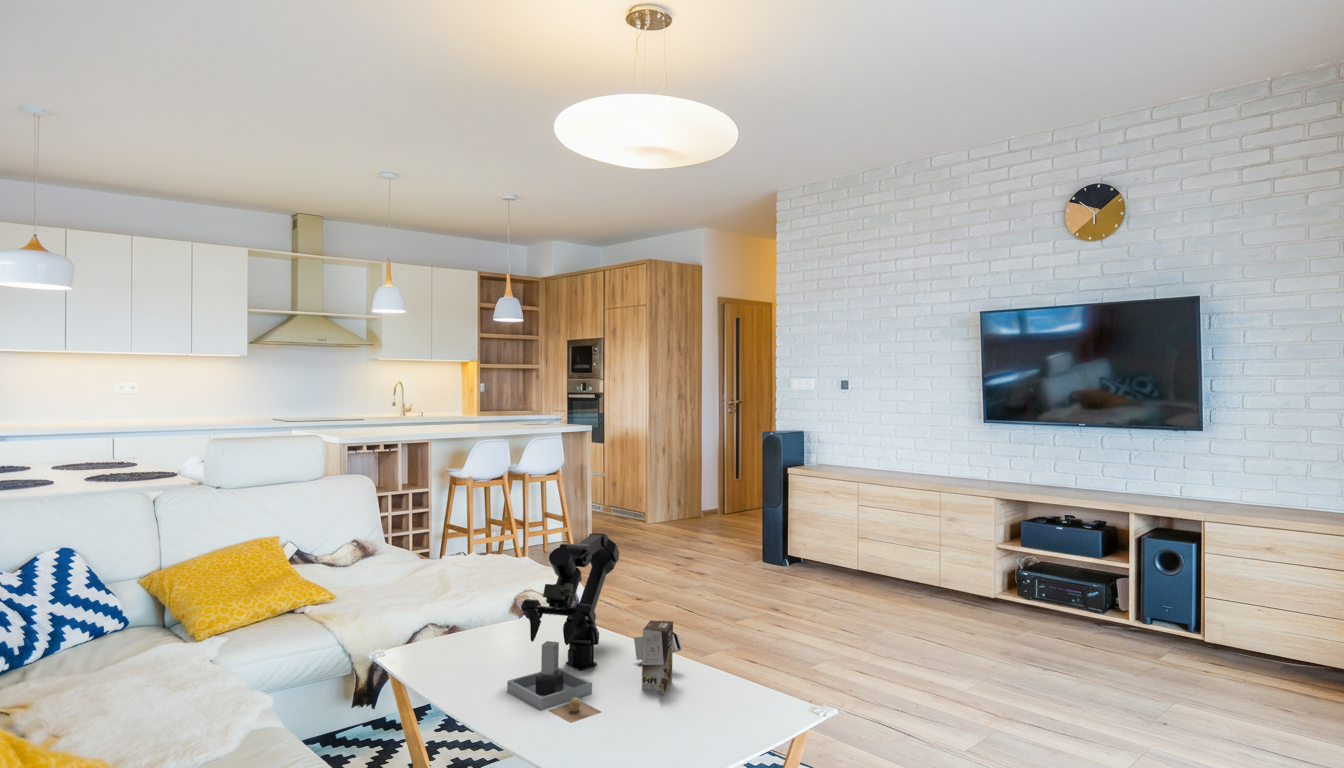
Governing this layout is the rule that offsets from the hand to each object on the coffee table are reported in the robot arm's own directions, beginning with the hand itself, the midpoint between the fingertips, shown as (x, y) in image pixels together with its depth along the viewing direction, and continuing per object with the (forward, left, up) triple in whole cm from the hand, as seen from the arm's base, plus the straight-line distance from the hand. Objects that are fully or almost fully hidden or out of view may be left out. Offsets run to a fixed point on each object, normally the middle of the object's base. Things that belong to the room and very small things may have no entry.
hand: (548, 642), depth 191 cm
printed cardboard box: (-33, -4, -11) cm, 35 cm away
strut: (-1, -1, -13) cm, 13 cm away
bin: (-1, -1, -14) cm, 14 cm away
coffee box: (-25, +13, -14) cm, 31 cm away
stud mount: (+1, +13, -14) cm, 19 cm away
